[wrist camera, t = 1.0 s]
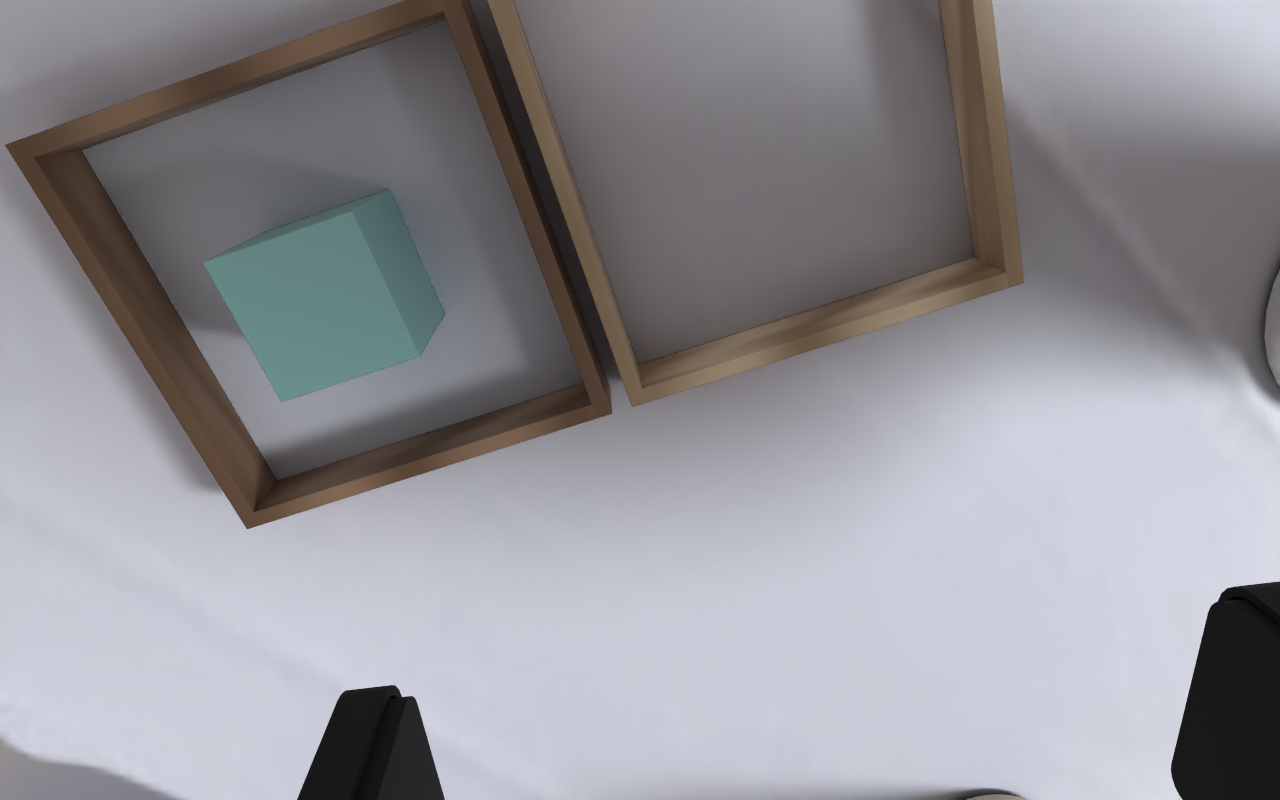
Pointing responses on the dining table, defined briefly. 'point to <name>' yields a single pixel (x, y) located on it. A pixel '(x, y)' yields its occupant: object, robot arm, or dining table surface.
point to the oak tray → (984, 274)
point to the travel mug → (996, 797)
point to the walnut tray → (171, 348)
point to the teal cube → (330, 295)
